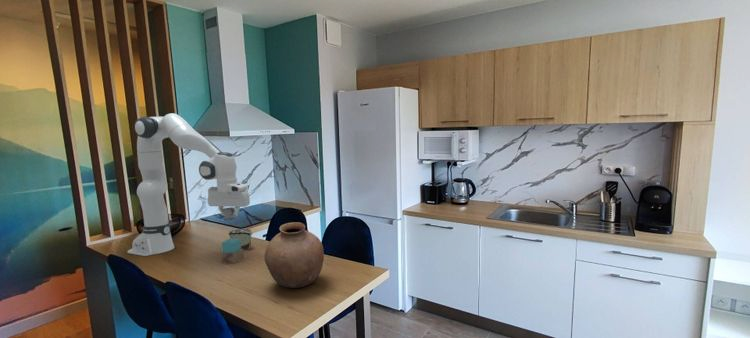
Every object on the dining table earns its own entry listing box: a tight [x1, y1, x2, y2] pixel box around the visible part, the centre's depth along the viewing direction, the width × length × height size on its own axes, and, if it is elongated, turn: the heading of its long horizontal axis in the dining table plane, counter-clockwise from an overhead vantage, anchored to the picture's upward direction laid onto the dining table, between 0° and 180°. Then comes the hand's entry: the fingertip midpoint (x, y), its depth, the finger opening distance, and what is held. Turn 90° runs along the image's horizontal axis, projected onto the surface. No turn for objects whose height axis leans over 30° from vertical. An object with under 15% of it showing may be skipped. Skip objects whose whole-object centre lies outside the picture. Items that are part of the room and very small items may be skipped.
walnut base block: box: [220, 249, 244, 265], centre depth 173 cm, size 7×7×5 cm
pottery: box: [263, 221, 325, 289], centre depth 143 cm, size 23×23×25 cm
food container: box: [228, 228, 253, 251], centre depth 190 cm, size 12×6×10 cm, turn 84°
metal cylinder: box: [223, 206, 237, 221], centre depth 171 cm, size 5×5×5 cm
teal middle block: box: [221, 238, 241, 253], centre depth 173 cm, size 6×6×5 cm
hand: (229, 215), depth 171 cm, fingers closed on metal cylinder, 5 cm apart
